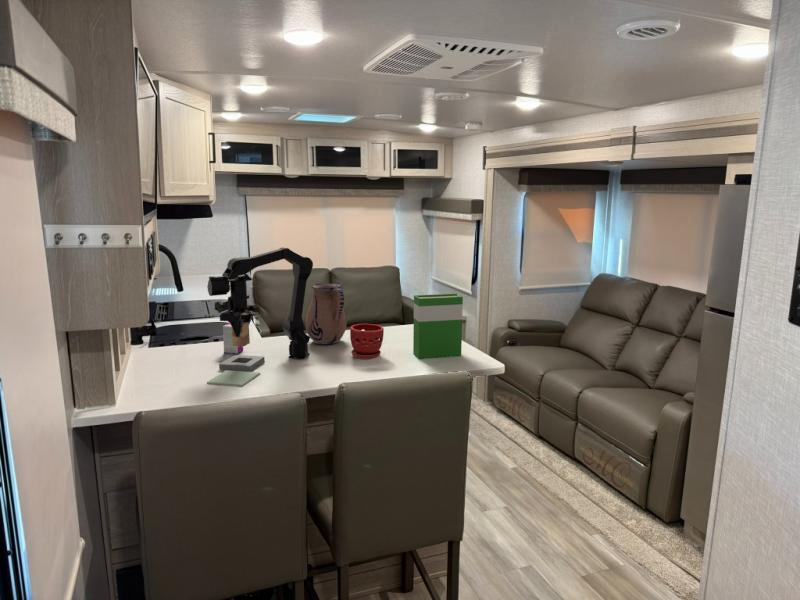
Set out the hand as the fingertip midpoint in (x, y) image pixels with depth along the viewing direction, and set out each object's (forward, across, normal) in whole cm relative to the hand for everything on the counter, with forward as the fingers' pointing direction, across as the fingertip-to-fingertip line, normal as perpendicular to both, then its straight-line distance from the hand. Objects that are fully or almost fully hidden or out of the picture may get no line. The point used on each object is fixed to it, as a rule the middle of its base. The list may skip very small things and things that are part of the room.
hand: (240, 335), depth 200 cm
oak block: (+4, 0, 0) cm, 4 cm away
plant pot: (+12, -22, +42) cm, 49 cm away
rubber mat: (+12, +14, +4) cm, 19 cm away
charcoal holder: (+12, 0, 0) cm, 12 cm away
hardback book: (+12, -29, +69) cm, 76 cm away
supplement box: (+12, -16, -12) cm, 23 cm away
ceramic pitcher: (+12, -38, +21) cm, 45 cm away
